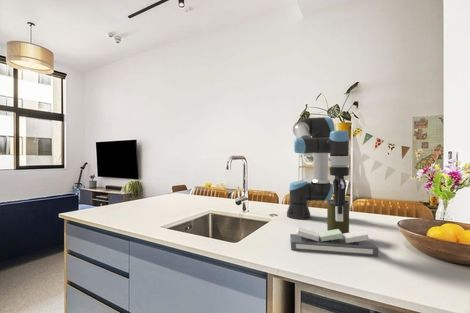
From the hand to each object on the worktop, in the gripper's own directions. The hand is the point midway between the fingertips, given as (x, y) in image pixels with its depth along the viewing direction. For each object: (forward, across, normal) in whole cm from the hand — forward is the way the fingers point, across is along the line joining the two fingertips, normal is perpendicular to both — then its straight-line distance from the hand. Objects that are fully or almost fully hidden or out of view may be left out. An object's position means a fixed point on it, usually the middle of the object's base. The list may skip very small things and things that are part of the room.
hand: (339, 220), depth 101 cm
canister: (+12, -18, +4) cm, 22 cm away
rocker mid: (+8, 0, -4) cm, 8 cm away
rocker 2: (+8, 0, +6) cm, 10 cm away
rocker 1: (+8, 0, -14) cm, 15 cm away
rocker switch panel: (+12, 0, -4) cm, 13 cm away
